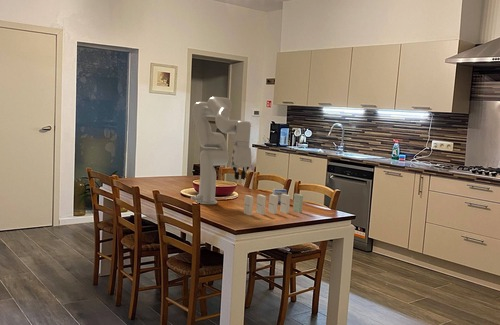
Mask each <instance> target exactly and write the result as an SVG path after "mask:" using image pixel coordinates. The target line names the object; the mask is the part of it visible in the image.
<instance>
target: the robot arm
mask: <svg viewBox="0 0 500 325" xmlns="http://www.w3.org/2000/svg"><path fill="white" fill-rule="evenodd" d="M232 109H233V102H232V100H231V99H230V98H228V97H224V96H223V97H222V96H221V97H220V96H212V97H209V99H208V100H207V101H198V102H195V103H194V104H193V106H192V109H191V115H192V120H193V122H194V124H195V127H196V132H197V138H198V143H199V146H200V147H201V148H203V150H201V151H200V153H199V164H200V165H199V168H200V169H199V170H200V171H199V172H200V173H199V188H198V194H196V195H191V196H190V200H195V203H196V202H197V203H196V204H199V203H200V205H217V204H218V200H216V186H217V171H216V168H215V166H226V165H227V164H228V162H229V160H230V159H229V158H230V157H229V151H228V145H227V140H226V137H225V135H224V134H226V135H227V134H230V135H235V141H234V142H233V143H232V145H234V146H233V148H232V154H231V162H230V163H229V165H228V167H229V168H231V169H232V170H233V172H234V179H235V180H239V179H240V180H243V181H244V180H246V175H247V174H246V173H247V171H249V169H251V168H252V167H253V166H252V150H251V149H252V148H251V147H250V141H251V140H250V139H251V126H252V123H251V122H250V121H244V120H239V119H229V118H230V117H231V111H232ZM206 117H208V118H209V117H210V118H215V119H214V121H215V126H216V127H217V128H218V130H219V131H220V132H215V131H212V126H211V124H210V121H208V119H207V118H206ZM240 167H241V168H242V170H241V173H240V172H239V169H240Z"/></svg>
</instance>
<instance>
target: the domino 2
mask: <svg viewBox="0 0 500 325" xmlns="http://www.w3.org/2000/svg"><path fill="white" fill-rule="evenodd" d="M256 195H257V196H256V208H255V213H257V214H259V215H261V216H262V215H263V216H265V214H266V205H267V204H266V203H267V196H266V195H263V194H256Z"/></svg>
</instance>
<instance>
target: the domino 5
mask: <svg viewBox="0 0 500 325" xmlns="http://www.w3.org/2000/svg"><path fill="white" fill-rule="evenodd" d="M303 202H304V195H302V194H300V193H294V194H293V205H292V211H293V212H294V213H298V214H302V213H303Z"/></svg>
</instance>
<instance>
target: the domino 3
mask: <svg viewBox="0 0 500 325" xmlns="http://www.w3.org/2000/svg"><path fill="white" fill-rule="evenodd" d="M278 206H279V204H278V196H277V195H273V193H272V194H271V193H270V194H269V198H268V207H267V208H268V213H270V214H273V215H277V214H278Z"/></svg>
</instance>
